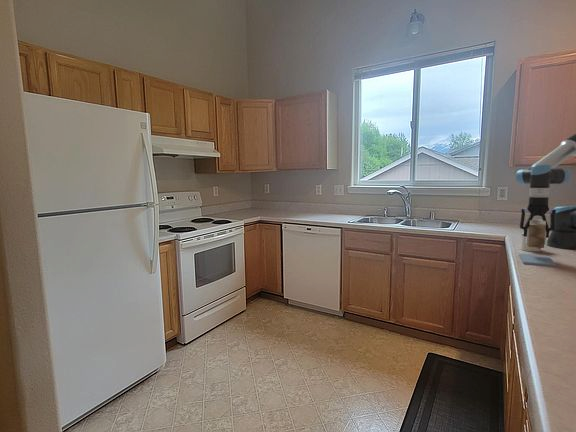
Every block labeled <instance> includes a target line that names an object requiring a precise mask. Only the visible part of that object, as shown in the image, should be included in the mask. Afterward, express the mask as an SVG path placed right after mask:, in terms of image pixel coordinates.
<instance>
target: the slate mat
mask: <svg viewBox="0 0 576 432" xmlns="http://www.w3.org/2000/svg"><path fill="white" fill-rule="evenodd" d="M518 256H519V259H520V260H521V262H522V264H523V265H531V266H543V267H551V268H553V267H554V268H557V264H556V262H555V261H554V260H553V259H552V258H551V257H550V256H549V255H544V254H543V255H541V254H530V253H529V254H528V253H518Z"/></svg>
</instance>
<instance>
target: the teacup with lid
mask: <svg viewBox="0 0 576 432" xmlns="http://www.w3.org/2000/svg"><path fill="white" fill-rule="evenodd" d="M520 245H521V246H520V247H521V248H520V250H522V251H524V252H525V251H526V252H532V253H533V252H534V253H536V252H537V253H540V252H541V250H542V248H536V247H528V246H527V243H526V236H524V231H523V232H522V233H521V244H520Z"/></svg>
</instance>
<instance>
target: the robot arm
mask: <svg viewBox="0 0 576 432" xmlns="http://www.w3.org/2000/svg"><path fill="white" fill-rule="evenodd" d="M573 156H576V133H574V134H572V135H570V136H569V137H567V138H565V139H564V140H562V141H561V142H560V143H559V146H558V147H556V148H554V149H553V150H552V151H550V152H549V153H548V154H545V156H544V157H542V158H541V159H539V160H537V161H536V162H535V163H534V164H532V165H531V166H529V167H528V168H526V169H525V168H523V169H518V171H516V174H515V178H514V179H515V181H516V182H517V183H519V184H524V185H527V184H528V185H529V193H528V194H529V196H530V197H529V198H528V206H527V207H525V208H521V209H520V212H521V215H520V222H519V229H522V230H523V232H524V236H526V243H527V244H528V239H529V230H528V227H529V225H530V220H532V219H533V218H534V217H537V216H539V217H540V218H541V220H543V221H546V228H545V241H544V246H545V245H546V246H547V247H551V248H559V249H566V250H567V249H568V250H569V249H570V250H576V205H569V206H568V205H567V206H566V205H565V206H555V207H554V208H553V209H552V208H550V207H549V201H550V199H549V197H548V196H550V185H561V184H562V185H563V184H565V183H568V181H569V180H570V178H571V173H570V171H569V170H568V169H566V168H561V167H560V168H556V167H558V166H559V165H560V164H562V163H564V162H565V161H566V160H568V158H570V157H573ZM527 211H528V212H529V213H530V214H529V215H528V219H527V221H526V223H525V218H526V213H527ZM548 212H549V221H550V222H549V224H550V225H549V224H548V221H547V217H546V214H547V213H548ZM524 223H525V225H524Z"/></svg>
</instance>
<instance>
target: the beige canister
mask: <svg viewBox="0 0 576 432" xmlns="http://www.w3.org/2000/svg"><path fill="white" fill-rule="evenodd" d="M545 228H546V221H543V220H542V219H532V220H530V225H529V227H528V229H527V230H529V239H528V244H527V246H528V247H536V248H541V249H544V248H545V245H544V241H545V231H546V230H545Z"/></svg>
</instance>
